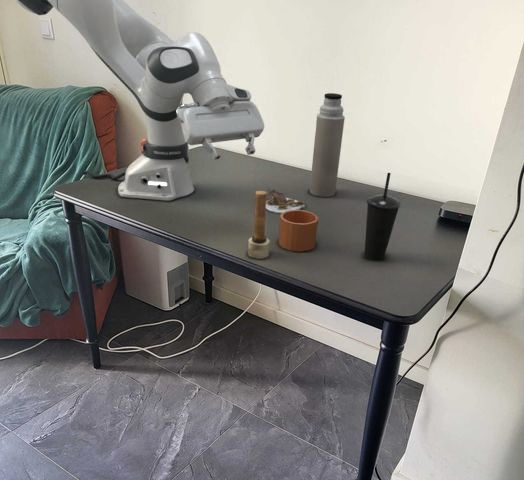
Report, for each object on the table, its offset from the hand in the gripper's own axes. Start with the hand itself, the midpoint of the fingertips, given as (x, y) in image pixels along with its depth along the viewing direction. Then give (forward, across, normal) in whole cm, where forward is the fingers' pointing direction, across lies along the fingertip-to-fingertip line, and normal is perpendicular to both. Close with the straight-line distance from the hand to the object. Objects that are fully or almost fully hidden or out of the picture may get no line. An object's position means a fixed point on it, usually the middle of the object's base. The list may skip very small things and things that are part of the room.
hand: (234, 155), depth 121 cm
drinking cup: (+33, +24, -5) cm, 41 cm away
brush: (+23, -1, +5) cm, 23 cm away
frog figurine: (+6, +23, +22) cm, 32 cm away
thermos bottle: (+4, +41, +25) cm, 48 cm away
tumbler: (+22, +11, +6) cm, 26 cm away
